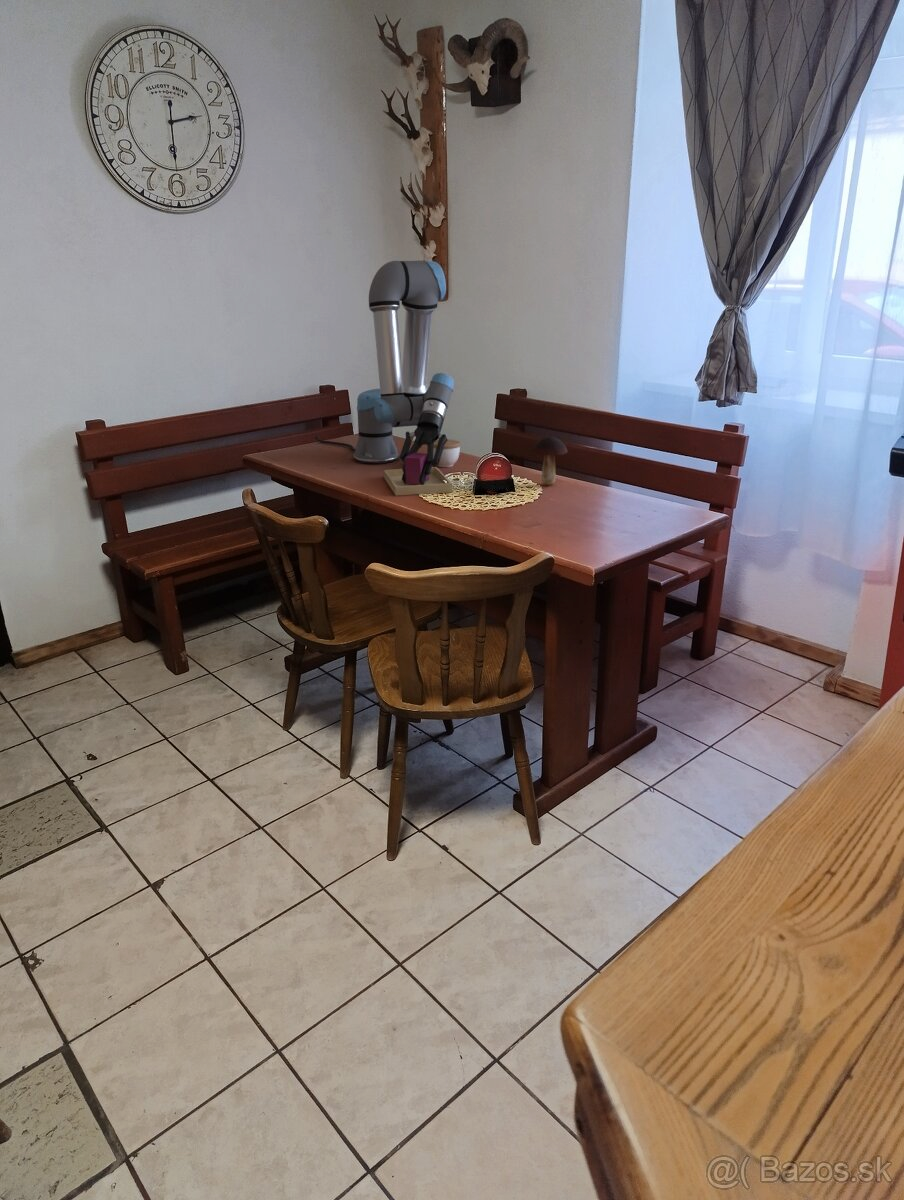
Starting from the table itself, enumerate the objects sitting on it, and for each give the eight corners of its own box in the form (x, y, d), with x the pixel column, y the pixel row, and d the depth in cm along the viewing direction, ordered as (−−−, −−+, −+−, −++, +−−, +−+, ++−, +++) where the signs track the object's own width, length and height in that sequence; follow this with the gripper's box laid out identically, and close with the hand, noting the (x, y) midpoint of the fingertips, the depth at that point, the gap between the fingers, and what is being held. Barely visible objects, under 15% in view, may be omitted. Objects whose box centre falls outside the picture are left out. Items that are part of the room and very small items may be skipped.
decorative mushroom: (570, 488, 246) (573, 439, 240) (536, 490, 244) (538, 441, 238) (558, 479, 256) (561, 432, 250) (525, 481, 254) (527, 433, 248)
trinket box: (437, 470, 268) (437, 441, 264) (423, 463, 276) (422, 436, 273) (465, 466, 272) (466, 438, 268) (451, 460, 281) (451, 433, 277)
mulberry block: (414, 478, 254) (413, 452, 251) (429, 479, 252) (428, 453, 249) (405, 483, 248) (404, 457, 245) (420, 484, 246) (420, 458, 243)
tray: (384, 478, 258) (383, 470, 257) (436, 474, 262) (436, 467, 261) (395, 495, 239) (395, 487, 238) (452, 492, 243) (452, 483, 242)
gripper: (402, 409, 254) (381, 473, 246) (456, 412, 248) (437, 477, 240) (409, 423, 261) (389, 485, 253) (461, 427, 255) (443, 491, 247)
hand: (412, 481), depth 246 cm, fingers closed on mulberry block, 5 cm apart
